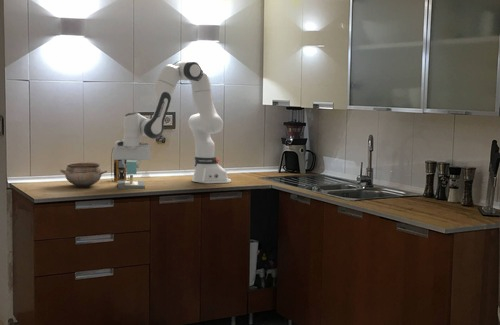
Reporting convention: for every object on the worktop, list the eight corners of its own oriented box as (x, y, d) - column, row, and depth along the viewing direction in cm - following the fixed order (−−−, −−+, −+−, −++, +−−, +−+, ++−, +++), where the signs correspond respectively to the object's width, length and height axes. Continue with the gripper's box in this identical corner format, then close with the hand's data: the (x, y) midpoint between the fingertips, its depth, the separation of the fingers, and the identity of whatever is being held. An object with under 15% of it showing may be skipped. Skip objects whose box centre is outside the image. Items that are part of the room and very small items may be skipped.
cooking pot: (110, 184, 372) (110, 162, 370) (103, 189, 353) (103, 166, 351) (64, 183, 371) (64, 161, 370) (55, 188, 353) (54, 165, 351)
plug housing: (136, 171, 373) (136, 160, 372) (136, 174, 362) (136, 163, 362) (126, 171, 372) (126, 160, 371) (126, 174, 361) (126, 162, 361)
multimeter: (120, 183, 376) (120, 147, 374) (108, 181, 382) (108, 146, 380) (140, 181, 388) (140, 146, 386) (128, 179, 394) (128, 144, 392)
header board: (143, 183, 378) (144, 173, 378) (144, 188, 361) (144, 178, 360) (118, 183, 376) (118, 173, 375) (118, 188, 358) (118, 178, 357)
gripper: (150, 142, 370) (150, 167, 372) (112, 141, 367) (112, 167, 368) (151, 143, 364) (151, 168, 366) (112, 142, 360) (112, 168, 362)
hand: (131, 168), depth 367 cm, fingers closed on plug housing, 5 cm apart
